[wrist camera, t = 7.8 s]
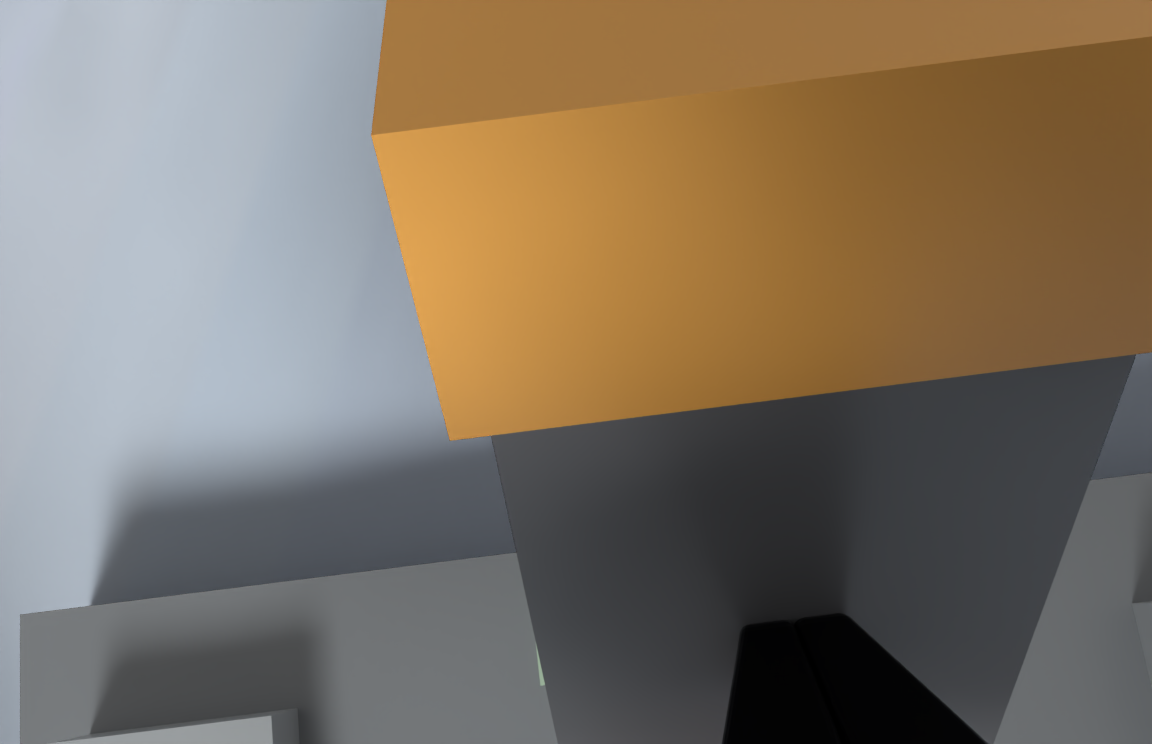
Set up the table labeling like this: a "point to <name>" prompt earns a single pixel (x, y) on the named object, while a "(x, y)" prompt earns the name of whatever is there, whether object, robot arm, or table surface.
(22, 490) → the table surface
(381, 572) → the panel
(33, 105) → the table surface
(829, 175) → the handle
